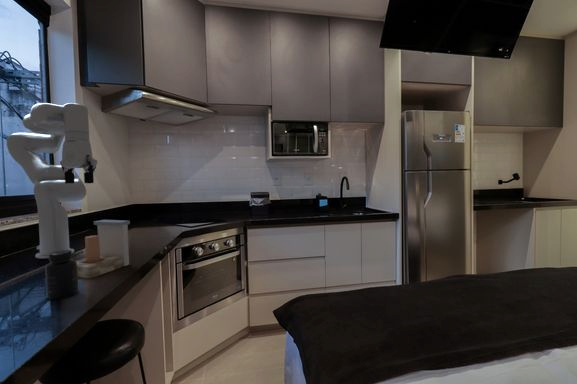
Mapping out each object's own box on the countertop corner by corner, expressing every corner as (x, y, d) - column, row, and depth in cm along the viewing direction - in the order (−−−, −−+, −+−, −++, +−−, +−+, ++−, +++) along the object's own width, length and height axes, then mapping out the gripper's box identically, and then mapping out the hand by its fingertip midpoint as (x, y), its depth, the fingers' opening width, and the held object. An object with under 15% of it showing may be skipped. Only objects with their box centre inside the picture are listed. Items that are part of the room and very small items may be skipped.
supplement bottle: (67, 289, 82) (64, 248, 81) (84, 291, 80) (82, 249, 79) (40, 298, 75) (37, 254, 75) (58, 301, 74) (56, 256, 73)
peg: (83, 272, 97) (82, 237, 96) (94, 268, 101) (93, 235, 100) (92, 273, 96) (91, 238, 95) (103, 269, 99) (101, 235, 99)
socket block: (63, 275, 94) (62, 264, 94) (96, 264, 106) (96, 255, 105) (90, 278, 91) (90, 267, 90) (122, 266, 102) (121, 257, 102)
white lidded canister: (95, 264, 105) (93, 221, 104) (106, 261, 109) (104, 219, 109) (121, 267, 102) (119, 222, 101) (131, 263, 106) (129, 220, 105)
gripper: (49, 137, 105) (52, 183, 106) (84, 135, 100) (87, 183, 101) (70, 140, 112) (72, 183, 113) (104, 138, 107) (106, 183, 108)
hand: (79, 183), depth 107 cm, fingers open, 9 cm apart
